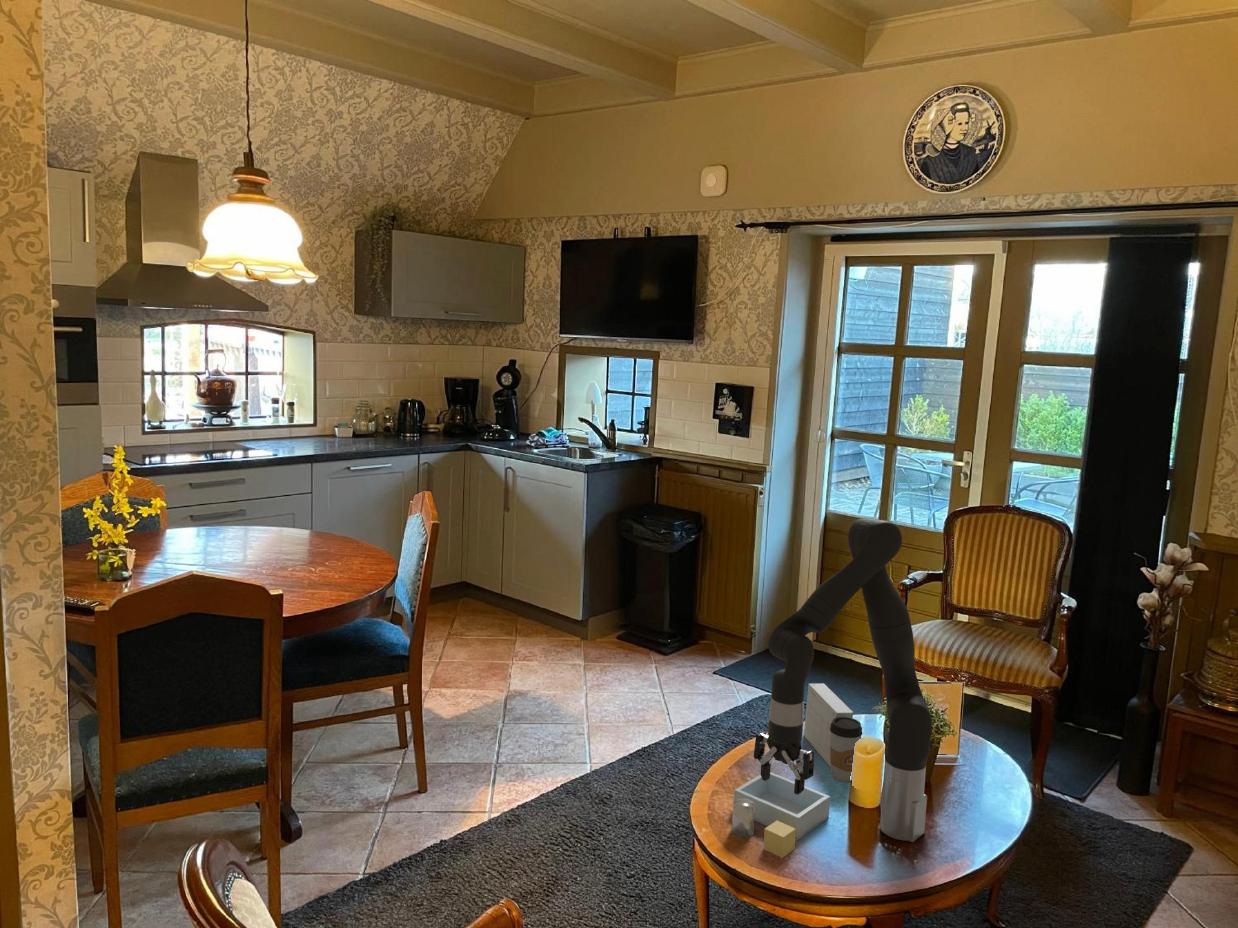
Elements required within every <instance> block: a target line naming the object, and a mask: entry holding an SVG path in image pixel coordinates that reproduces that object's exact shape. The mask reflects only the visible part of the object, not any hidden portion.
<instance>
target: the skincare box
mask: <svg viewBox="0 0 1238 928" xmlns="http://www.w3.org/2000/svg"><path fill="white" fill-rule="evenodd" d="M807 685H808V686H807V697H806V699H807V700H806V707H805V714H804V715H805V716H804V717H805V718H804V726H803V728H804V729H803V736H804V737H805V738H806V739H805V740H807V741H808V743H809V744H810V745H811V746H812V747H813V748H814V749H815V751H816V752H817V753H818V754H819V755H820V757H821V758H822V760H824V761H825V762H826V764H827V765H828V766H829V768H831V762H830V745H831V732H830V725H831V723H832V720H833V719H834V718H837V717H848V718H853V717H854V711H853V710H851V709H850V707H848V706H847V704H846V703H844V701H842V700H841V699H840V698H839V697H838V696H837V695H836V694H835V692H833V691H832V690H831V689H830V688H829V687H828V685H826V684H825V683H808V684H807ZM853 719H854V718H853Z"/></svg>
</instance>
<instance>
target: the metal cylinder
mask: <svg viewBox="0 0 1238 928" xmlns="http://www.w3.org/2000/svg"><path fill="white" fill-rule="evenodd" d="M754 813H755V803H754V802H753V801H751V800H749V799H745V798H740V799H736V800H734V799H733V802H732V821H731V823H732V824H731V832H732V834H733V835H734V836H736V837H737V838H741V839H742V838H743V839H747V838H750V837H752V836H754V833H755V830H754V828H755V827H754V826H755V821H754Z"/></svg>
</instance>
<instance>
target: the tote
mask: <svg viewBox="0 0 1238 928" xmlns="http://www.w3.org/2000/svg"><path fill="white" fill-rule="evenodd" d="M794 787H795V780H791V779H788V778H786V777H784V776H781V775H779V774H777V773H773V772H771V771H770V778H769V779H768V780H766V781H764V780H762V777H761V774H759V775H757V776H756V777H754V778H753V779H750V780H749V781H747V782H744V784H741V786H738V787H737V788H735V789H734V793H733V794H734V795H733V801H734V800H736V799H740V798H745V799H749V800H751V801H753V802H754V803H755V813H754V822H756V823H758V824H761V825H763V826H764V827H768V826H769V825H771V824H772V823H774V822H775V821H779V822H782V823H784V824H786V825H788V826H791V827H793V828H795V829H796V832H795V841H799V840H800V839H801V838H802V837H804V836H805V835H807V834H808V833H809V832H811V831H812V830H814V829H815V828H817V827H818V826H819V825H821V824H822V823H823V822H824V821H827V820H828V818H830V817H829V816H830V805H831V804H830V802H831V800H830V799H831V796H830V795H828V794H825V793H823V792H821V791H818V790H816V789H814V788H810V787H808V786H806V785H804V790H803V791H802V792H801V793H800V794H798V795H796V794H794Z"/></svg>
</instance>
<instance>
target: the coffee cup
mask: <svg viewBox="0 0 1238 928" xmlns="http://www.w3.org/2000/svg"><path fill="white" fill-rule="evenodd" d="M861 724H862V723H861V722H860V720H857V719H855V718H848V717H837V718H834V719H833V720H832V723H831V725H830V732H831V745H830V762H831V767H830V774H831V777H832V778H833V779H834V780H835V779H836V781H838V782H841V781H842V783H850V782H849V781H850V776H851V772H852V763H853V755H854V746H855V743H856V742H857V741H858V740H859V739H861V740H862V735H863V727H862V725H861Z"/></svg>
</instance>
